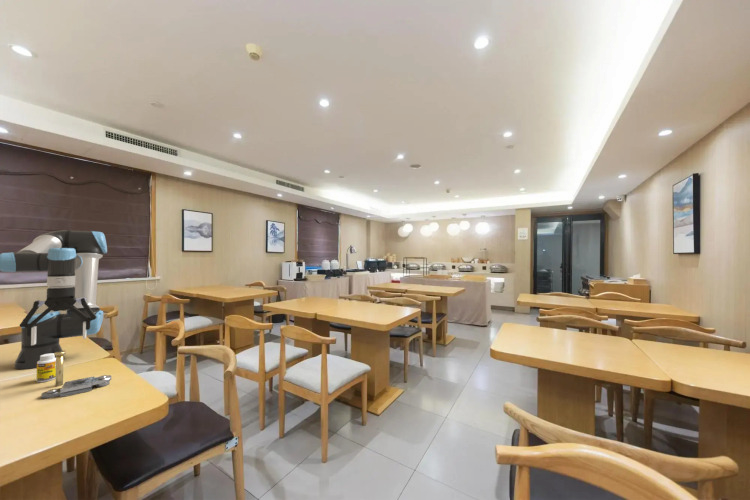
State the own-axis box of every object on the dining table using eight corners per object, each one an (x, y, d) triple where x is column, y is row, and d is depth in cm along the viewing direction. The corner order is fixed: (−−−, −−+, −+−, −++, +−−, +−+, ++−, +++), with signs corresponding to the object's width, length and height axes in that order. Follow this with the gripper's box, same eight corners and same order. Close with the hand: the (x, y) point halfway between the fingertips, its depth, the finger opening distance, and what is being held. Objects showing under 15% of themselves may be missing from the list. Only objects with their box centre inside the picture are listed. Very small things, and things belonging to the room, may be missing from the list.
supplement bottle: (33, 384, 113) (34, 358, 113) (39, 378, 118) (40, 353, 118) (54, 380, 116) (54, 355, 116) (59, 375, 121) (59, 351, 121)
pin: (54, 384, 112) (55, 351, 113) (65, 382, 114) (66, 350, 115) (52, 387, 110) (53, 353, 110) (63, 385, 112) (64, 352, 112)
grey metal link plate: (44, 393, 106) (44, 384, 106) (112, 379, 117) (112, 371, 117) (38, 401, 100) (38, 392, 100) (110, 386, 111) (110, 378, 111)
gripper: (7, 290, 102) (6, 350, 102) (103, 285, 118) (102, 337, 117) (15, 288, 108) (13, 344, 107) (105, 284, 123) (104, 333, 123)
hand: (60, 341), depth 112 cm, fingers open, 13 cm apart
